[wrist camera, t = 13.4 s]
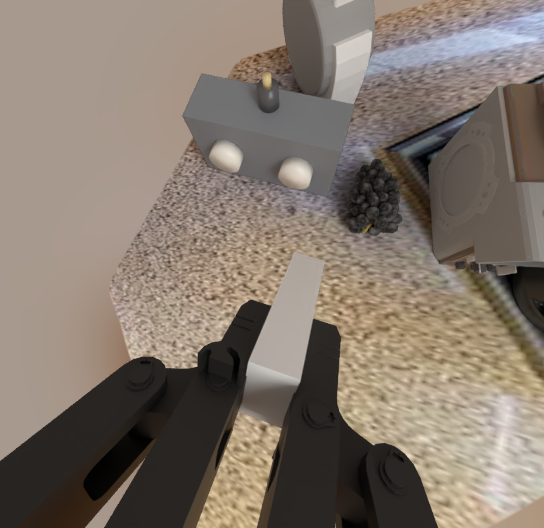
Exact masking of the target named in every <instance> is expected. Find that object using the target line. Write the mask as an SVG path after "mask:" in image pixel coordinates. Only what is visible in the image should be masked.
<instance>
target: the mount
mask: <svg viewBox="0 0 544 528" xmlns="http://www.w3.org/2000/svg"><path fill="white" fill-rule="evenodd" d="M354 108H355V104H350V103H345V102H340V101H335V100H330V99H326V98H321V97H316V96H311V95H306V94H301V93H296V92H291V91H286V90H281V89H279V108H278V109H277V110H276V111H275V112H273V113H264V112H262V111H261V110H260V108H259V102H258V95H257V85H256V84H251V83H247V82H242V81H237V80H232V79H227V78H222V77H216V76H212V75H207V74H201V76H200V78H199V80H198V82H197V85H196V87H195V89H194V91H193V93H192V96H191V98H190V100H189V102H188V104H187V107H186V109H185V111H184V113H183V118H184V120H185V122H186V124H187V126H188V128H189V129H190V131H191V134H192V135H193V137H194V139H195V141H196V143H197V145H198V147H199V149H200V151H201V153H202V155H203V157H204V159H205V161H206V163H207V165H208V167H210V168H214V169H218V170H221V169H219V168H218V167H216V166H215V165H214V164H213V163H212V162H211V161H210V159H209V155H210V152H211V150H212V148H213V145H214V143H215V141H217V140H226V141H229V142H231V143H233V144H235V145H237V146H238V147H239V148H240V149H241V151H242V152H243V155H244V157H243V160H242V163H241V165H240V168H239V170H238V172H235V173H234V174H238V175H242V176H246V177H250V178H254V179H258V180H262V181H266V182H270V183H273V184H277V185H281V186H285V187H287V186H286V185H284V184H283V183H282V182H281V181H280V180H279V178H278V174H279V171H280V168H281V165H282V163H283V160H284V159H286V158H288V157H298V158H301V159H304V160H306V161H307V162H309V163H310V164H311V165H312V167H313V174H312V177H311V181H310V184H309V186H308V187H307V188H306V189H297V190H301V191H305V192H309V193H313V194H317V195H321V196H325V197H328V195H329V192H330V189H331V185H332V182H333V179H334V175H335V172H336V168H337V165H338V162H339V158H340V155H341V152H342V148H343V145H344V141H345V138H346V135H347V131H348V128H349V124H350V121H351V118H352V114H353V111H354ZM222 171H223V170H222ZM289 188H290V187H289Z"/></svg>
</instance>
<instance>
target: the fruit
mask: <svg viewBox="0 0 544 528" xmlns="http://www.w3.org/2000/svg"><path fill="white" fill-rule="evenodd" d="M384 170H385V168H384V165H383V164H382V162H381V160H380V159H374V160H373V161H372V163H371V166H369V165H364V166H362V167H361V169H360V171H359V172H358V173H357V175H356V179H357V180H358V182H359V184H357V185H355V187H354V194H353V195H352V196H351V198H350V201H351V202H352V203H351V204H350V205H349V206H348V211H349V212H350V213H348V214H346V216H345V220H346V221H347V222H348V223H349V228H350V231H351V232H353V233H362V234H363V233H364V232H366V231H367V230H368V233H369V234H370V235H373V236H377V235H378V234H379V233H380V232H382V233H394V232H396V231H397V229H398V225H397V224H399V223H400V222H401V221H402V216H401V215H400V214H398V210H399V205H398V204H399V201H400V200H399V198H400V193H399V191H397V190H395V189H397V188H398V186H399V181H398V180H397V179H396V178H392V174H391V173H389V172H387V171H384ZM372 224H373V225H372Z"/></svg>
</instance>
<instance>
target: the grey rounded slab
mask: <svg viewBox="0 0 544 528" xmlns="http://www.w3.org/2000/svg"><path fill="white" fill-rule="evenodd" d="M283 27H284V35H285V42H286V47H287V51H288V56H289V61H290V63H291V66H292V68H293V71H294V73H295V76H296V77H295V80H296V82H297V83H298V85H299V87H300V88H301V90H302V92H303V93H304V94H306V95H311V96H316V97H321V98H326V99H330V100H335V101H340V102H345V103H350V104H354V102H355V100H356V98H357V95H358V93H359V90H360V88H361V85H362V82H363V80H364V76H365V73H366V70H367V67H368V63H369V60H370V58H371V54H372V49H373V45H374V36H375V7H374V1H373V0H283Z"/></svg>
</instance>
